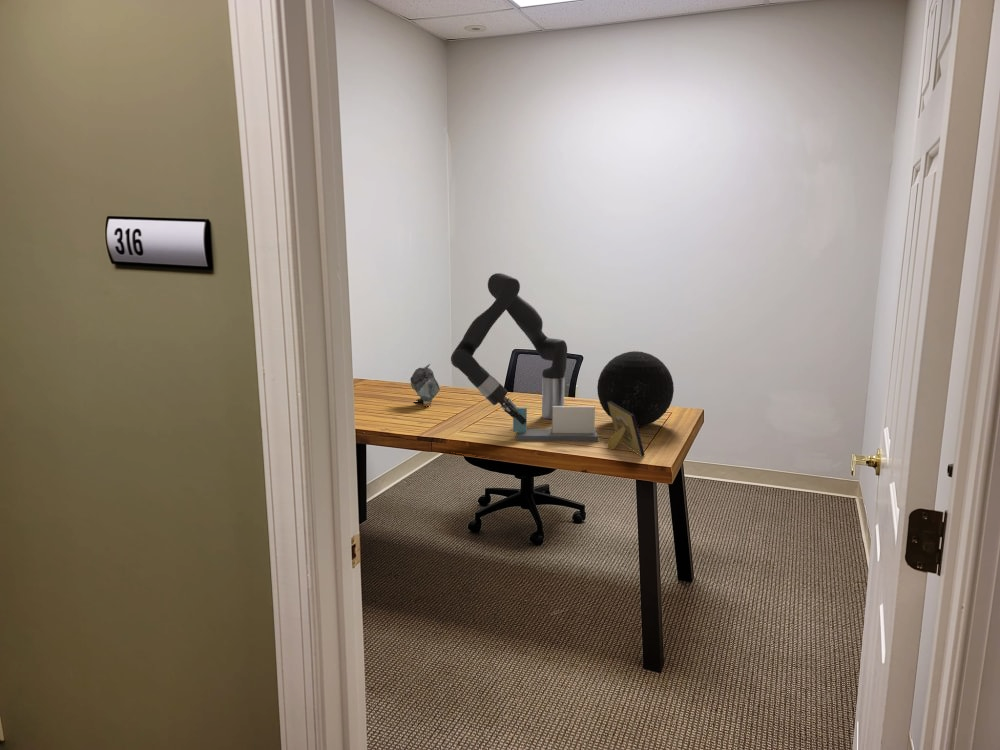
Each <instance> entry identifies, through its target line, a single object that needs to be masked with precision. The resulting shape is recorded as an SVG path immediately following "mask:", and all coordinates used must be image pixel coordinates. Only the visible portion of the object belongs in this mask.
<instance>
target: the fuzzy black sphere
mask: <svg viewBox="0 0 1000 750" xmlns="http://www.w3.org/2000/svg"><path fill="white" fill-rule="evenodd" d="M596 387H597V398H598V400H599V404H600V406H601V407H602V409H603V411H604V412H605V413H606V415H608V416H609V417H610V418H611V419H612V417H611V414H610V410H609V406H608V402H609V401H611V402H613V403H615V404H616V405H618V406H620V407H621V408H623V409H625V410H626V411H628V412H630V413H632V414H633V415H635V419H636V422H637V426H638V427H644V426H648V425H650V424H653V423H655V422H657V421H658V420H659V419H660V418H662V417H663V415H665V414H666V412H668V409H669V408H670V406H671V403H672V401H673V397H674V392H675V390H674V380H673V377H672V374H671V373H670V371H669V368H668V367H667V366H666V365H665V363H664V362H663V361H662V360H661V359H659V358H658V357H656V356H654V355H652V354H650V353H648V352H643V351H636V350H633V351H632V350H631V351H628V352H624V353H621V354H619V355H616V356H615V357H613V358H612V359H611V360H609V361H608V362H607V364H606V365H605V366H604V367H603V368H602V370H601V372H600V374H599V377H598V380H597V386H596Z"/></svg>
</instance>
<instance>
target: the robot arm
mask: <svg viewBox="0 0 1000 750" xmlns="http://www.w3.org/2000/svg"><path fill="white" fill-rule="evenodd" d="M487 289H488V292H489V294H490V295H491V296H492V297H493V298H494V299H495V300H494V301H493V303H492V304H491V305H490V306H489V307H488V308H487V309H485V310H484V311H483V312H482V313H481V314H479V315H478V316H477V317H475V318H474V319H473V321H472V322H471V324H470V325H469V326H468V327H467V330H466V332H465V333H464V335H463V338H462V339H461V341H460V342H459V343H458V345H457V346H456V348H455V349H454V350H453V353H452V354H451V356H450V362H451V364H452V366H453V367H454V368H456V369H458V370H459V371H460V372H462V374H464V376H466V378H467V380H469V382H470V383H471V384H472V385H473V386H474V387H475V388H476V389H477V390H478V391H479V392H480V394H481V395H482V396H483V397H484V398H485V399H486V400H488V401H489V403H491V404H492V406H495V405H497V404H499V405H500V408H501V409H502V410H503V411H504V412H505V413H506V414H508V415H509V416H510V417H512V418H516V419H517V420H518V421H519V422H520V423H521V424H524V423H525V422H526V419H525V418H524V417H523V416H522V415H521V414H520V413H519V412H518V411H517V410H516V408H518V407H517V405H516V404H515V403H514V402H513V401H512V399H511V398H510V397H508V398H507V397H506V396H507V394H508V389H506V388H505V387H504V386H503V385H502V384H501V383H500V382H499V381H498V380H497V379H496V377H494V376H492V375H491V374H490V372H488V371H487V370H486V369H485V368H484V367H483V366H482V365H481V364H480V363H479V362H478V361H477V359H476V358H475V357H473V356H474V354H475V352H476V350H477V349H479V347H480V346H481V345H482V343H483V341H484V340H485V338H486V337H487V335H488V333H489V332H490V330H491V329H492V327H494V325H495V324H496V322H497V320H499V318H500V317H501V316H502V315H503V314H504V313H505V311H506V312H507V314H509V316H510V317H511V319H512V320H513V321H514V322H515V324H516V325H517V326H518V327H519V329H520V330H521V331H522V332H523V334H525V336H526V337H527V338H528V340H529V341H530V342H531V344H532V345H533V347H534V348H535V351H536V352H537V354H538V356H539V357H541V358H542V359H543V360H545V361H549V362H550V361H551V366H550V367H549V368H545V369H543V370H542V374H541V375H542V376H541V377H542V385H541V387H542V388H541V389H542V390H541V391H542V393H541V395H542V396H541V417H542V418H543V419H547V420H552V406H565V378H566V377H565V375H566V374H565V373H566V371H567V361H568V359H567V358H568V345H567V343H566V341H565V340H564V339H560V338H550V337H548V336H546V334H545V333H544V331H543V324H544V323H543V319H542V317H541V315H540V314H539V312H538V310H536V308H534V307H533V306H532V305H531V304H530V303H529V302H528V301H526V300H525V299H523V297H521V296H519V293H520V290H521V284H520V282H519V280H518V279H517V278H516V277H513V276H511V275H508V274H505V273H501V272H500V273H493V274H492V275H490V276H489V278H488V280H487ZM514 412H515V413H514ZM513 413H514V414H513Z"/></svg>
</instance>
